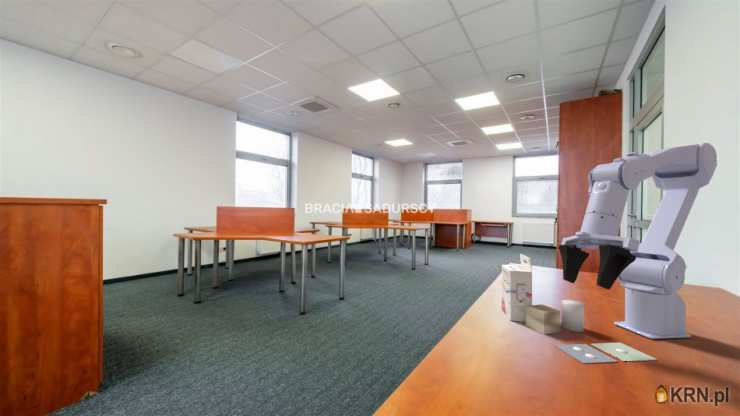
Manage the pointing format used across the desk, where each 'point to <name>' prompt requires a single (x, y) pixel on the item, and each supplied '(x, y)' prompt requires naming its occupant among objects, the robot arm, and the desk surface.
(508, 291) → the ink cartridge box
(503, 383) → the desk surface
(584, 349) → the pad two
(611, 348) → the pad one
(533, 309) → the birch block
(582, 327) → the white capsule cylinder
